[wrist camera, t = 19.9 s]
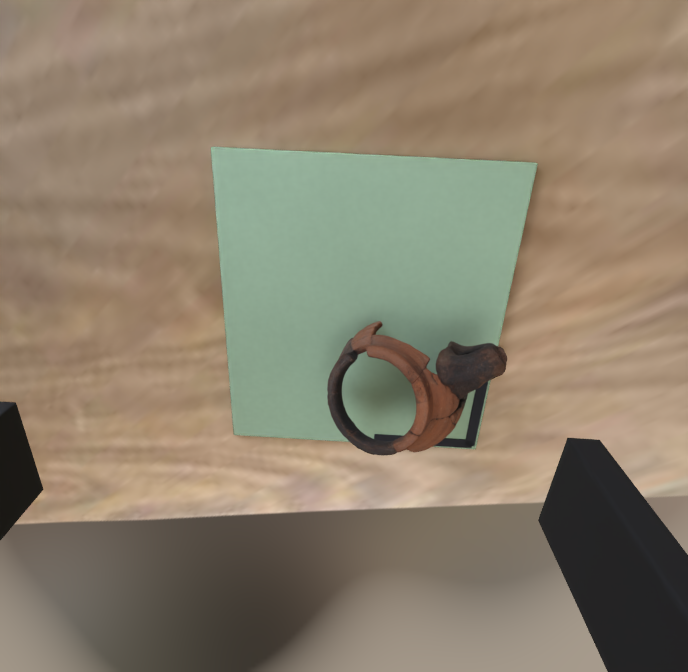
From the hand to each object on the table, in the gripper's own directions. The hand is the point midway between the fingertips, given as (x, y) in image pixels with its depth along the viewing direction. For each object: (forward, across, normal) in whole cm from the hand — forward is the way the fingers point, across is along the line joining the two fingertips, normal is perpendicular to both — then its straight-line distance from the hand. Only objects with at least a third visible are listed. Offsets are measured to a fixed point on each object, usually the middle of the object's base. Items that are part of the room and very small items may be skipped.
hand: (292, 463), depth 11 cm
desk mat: (+21, +2, -5) cm, 22 cm away
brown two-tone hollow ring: (+21, +7, -8) cm, 23 cm away
